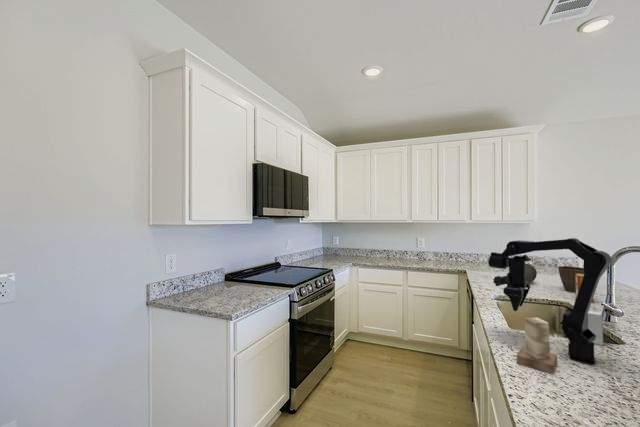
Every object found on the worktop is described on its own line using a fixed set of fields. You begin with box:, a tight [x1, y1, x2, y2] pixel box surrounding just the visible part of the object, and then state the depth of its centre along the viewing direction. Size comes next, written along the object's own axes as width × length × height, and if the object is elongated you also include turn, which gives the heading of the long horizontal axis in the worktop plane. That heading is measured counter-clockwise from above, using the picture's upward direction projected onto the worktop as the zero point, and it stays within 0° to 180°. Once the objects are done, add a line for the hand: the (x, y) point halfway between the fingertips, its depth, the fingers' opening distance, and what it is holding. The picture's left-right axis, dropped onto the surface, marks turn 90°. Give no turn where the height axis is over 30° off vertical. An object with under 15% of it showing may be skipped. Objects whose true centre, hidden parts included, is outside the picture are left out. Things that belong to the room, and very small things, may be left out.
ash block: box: [523, 317, 551, 359], centre depth 102 cm, size 4×6×12 cm
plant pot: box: [557, 265, 584, 294], centre depth 200 cm, size 15×15×16 cm
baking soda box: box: [575, 273, 594, 304], centre depth 177 cm, size 10×6×16 cm
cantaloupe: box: [525, 263, 538, 284], centre depth 226 cm, size 14×14×15 cm
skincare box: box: [588, 310, 604, 346], centre depth 119 cm, size 6×4×12 cm
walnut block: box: [516, 345, 558, 375], centre depth 102 cm, size 10×10×4 cm
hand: (517, 308), depth 122 cm, fingers open, 9 cm apart
